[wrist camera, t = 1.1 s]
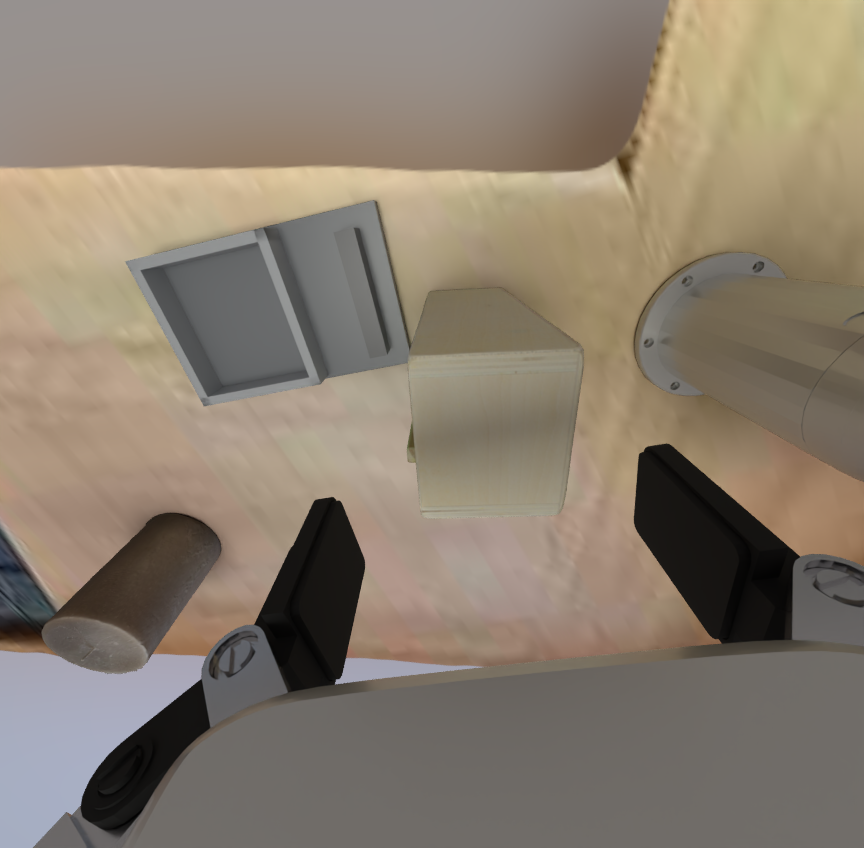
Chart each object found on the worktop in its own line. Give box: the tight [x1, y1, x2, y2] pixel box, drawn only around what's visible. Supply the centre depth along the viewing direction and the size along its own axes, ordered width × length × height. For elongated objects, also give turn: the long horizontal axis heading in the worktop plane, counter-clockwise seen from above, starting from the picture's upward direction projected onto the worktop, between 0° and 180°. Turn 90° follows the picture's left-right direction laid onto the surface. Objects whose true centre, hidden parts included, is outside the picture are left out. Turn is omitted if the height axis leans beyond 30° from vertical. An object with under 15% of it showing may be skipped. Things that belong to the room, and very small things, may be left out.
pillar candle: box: [42, 513, 221, 674], centre depth 40 cm, size 10×10×15 cm
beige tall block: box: [407, 288, 584, 519], centre depth 24 cm, size 8×7×21 cm
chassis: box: [125, 200, 410, 406], centre depth 31 cm, size 20×13×4 cm, turn 101°
